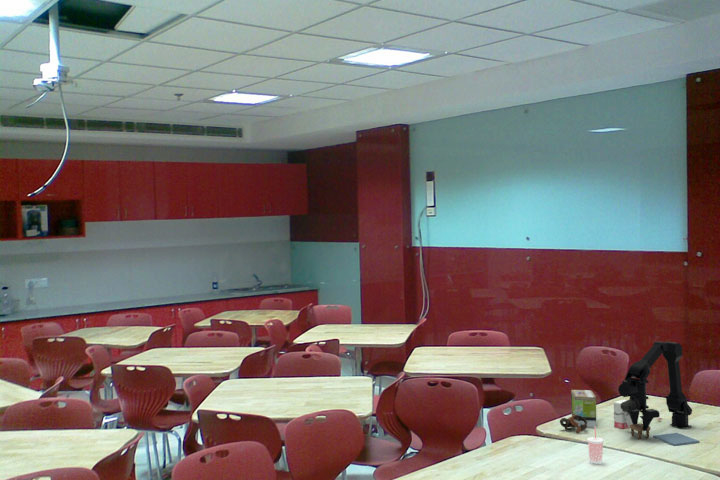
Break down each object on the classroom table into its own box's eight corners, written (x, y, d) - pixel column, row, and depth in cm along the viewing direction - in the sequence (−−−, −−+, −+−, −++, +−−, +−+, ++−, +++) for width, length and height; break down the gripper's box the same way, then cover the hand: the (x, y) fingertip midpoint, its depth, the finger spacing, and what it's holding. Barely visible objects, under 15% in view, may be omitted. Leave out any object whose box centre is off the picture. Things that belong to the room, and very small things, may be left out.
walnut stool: (641, 434, 296) (640, 423, 296) (650, 438, 290) (650, 426, 290) (629, 435, 294) (629, 424, 294) (639, 439, 288) (638, 428, 288)
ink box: (622, 429, 304) (622, 403, 304) (613, 427, 308) (612, 401, 308) (634, 426, 309) (633, 401, 309) (625, 423, 313) (624, 399, 313)
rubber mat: (677, 434, 294) (676, 432, 294) (699, 442, 282) (699, 440, 282) (652, 437, 291) (652, 435, 291) (674, 446, 278) (674, 444, 278)
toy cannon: (579, 428, 310) (586, 414, 306) (584, 442, 301) (591, 429, 298) (555, 422, 309) (561, 409, 306) (559, 436, 301) (565, 423, 297)
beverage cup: (591, 458, 265) (590, 423, 265) (606, 461, 262) (605, 426, 262) (585, 462, 261) (584, 427, 261) (601, 465, 257) (600, 429, 257)
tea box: (597, 428, 307) (596, 396, 307) (574, 427, 309) (574, 396, 309) (592, 419, 321) (591, 389, 321) (571, 419, 323) (570, 389, 323)
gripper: (610, 390, 299) (610, 425, 299) (638, 400, 281) (639, 436, 281) (630, 388, 302) (631, 422, 302) (660, 397, 284) (660, 434, 284)
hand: (640, 429), depth 292 cm, fingers closed on walnut stool, 6 cm apart
